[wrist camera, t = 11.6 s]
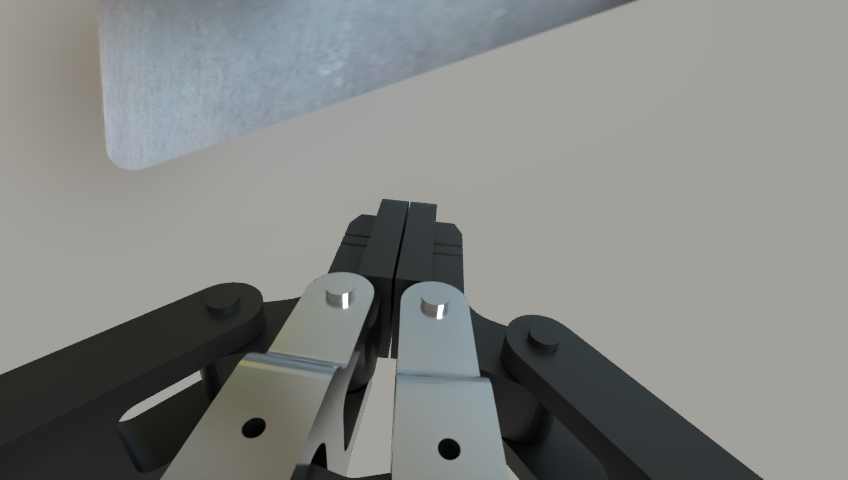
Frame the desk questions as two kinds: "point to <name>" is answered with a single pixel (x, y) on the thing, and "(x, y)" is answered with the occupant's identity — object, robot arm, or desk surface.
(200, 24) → the desk surface
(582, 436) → the robot arm
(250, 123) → the desk surface
